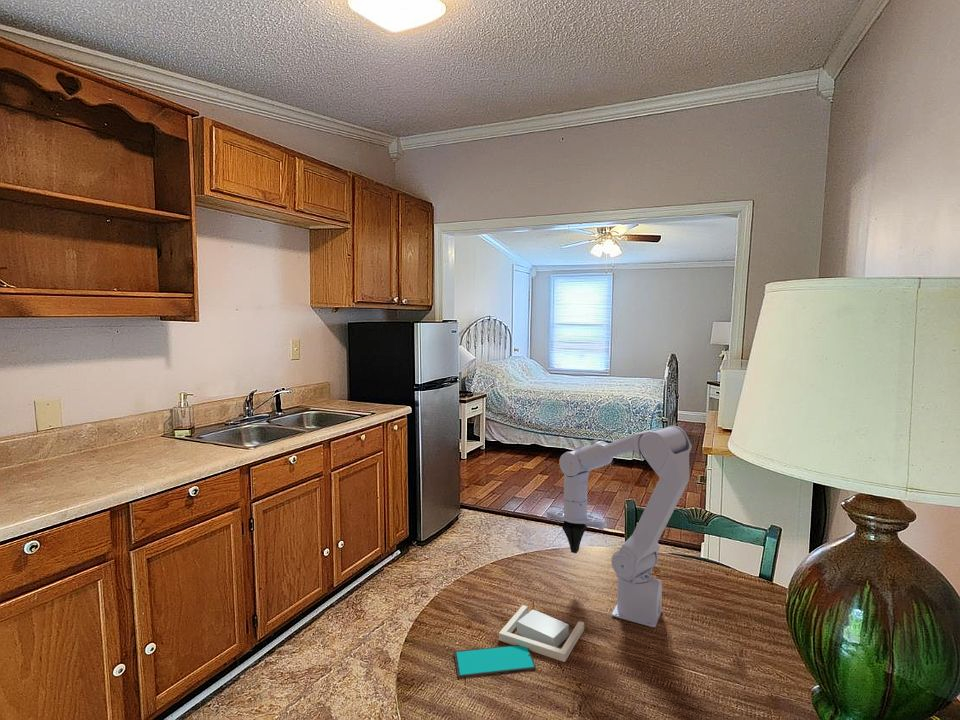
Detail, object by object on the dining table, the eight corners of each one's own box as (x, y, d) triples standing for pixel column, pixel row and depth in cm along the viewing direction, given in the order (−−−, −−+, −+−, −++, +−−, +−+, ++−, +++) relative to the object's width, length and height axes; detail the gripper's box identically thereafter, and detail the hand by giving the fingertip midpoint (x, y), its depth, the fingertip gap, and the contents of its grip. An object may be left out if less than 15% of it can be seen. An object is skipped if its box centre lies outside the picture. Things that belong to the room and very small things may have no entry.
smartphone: (453, 651, 106) (526, 643, 108) (453, 655, 106) (526, 647, 108) (457, 676, 99) (536, 667, 101) (457, 680, 99) (536, 671, 101)
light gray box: (568, 637, 111) (568, 624, 111) (553, 652, 107) (553, 638, 107) (532, 622, 117) (532, 609, 117) (517, 635, 113) (517, 621, 112)
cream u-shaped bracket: (584, 629, 114) (584, 622, 113) (564, 662, 103) (564, 654, 103) (522, 611, 121) (522, 604, 120) (498, 640, 110) (498, 632, 110)
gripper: (609, 498, 131) (608, 551, 132) (553, 488, 138) (553, 539, 139) (600, 507, 125) (599, 562, 126) (543, 497, 132) (543, 549, 133)
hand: (574, 551), depth 132 cm, fingers closed
